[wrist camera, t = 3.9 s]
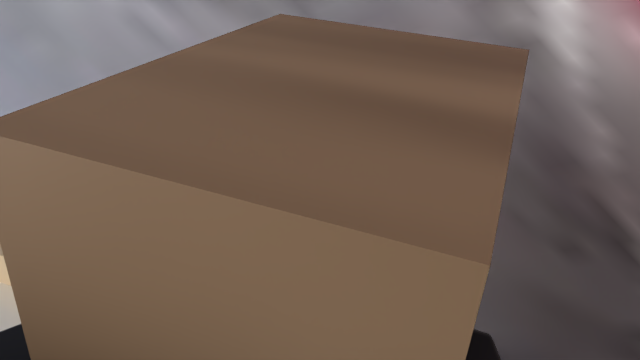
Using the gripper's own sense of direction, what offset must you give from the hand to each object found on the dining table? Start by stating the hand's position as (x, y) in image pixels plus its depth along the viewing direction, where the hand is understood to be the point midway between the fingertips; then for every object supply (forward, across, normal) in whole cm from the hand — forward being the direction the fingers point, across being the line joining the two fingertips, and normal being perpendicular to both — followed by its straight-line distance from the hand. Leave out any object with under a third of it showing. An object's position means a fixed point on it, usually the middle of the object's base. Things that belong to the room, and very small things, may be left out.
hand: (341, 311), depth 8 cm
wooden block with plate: (+1, 0, +4) cm, 4 cm away
